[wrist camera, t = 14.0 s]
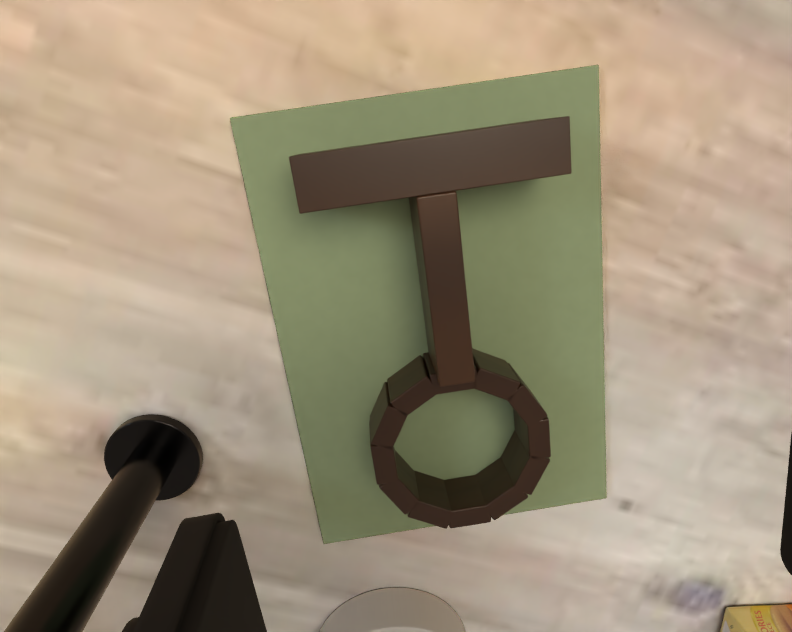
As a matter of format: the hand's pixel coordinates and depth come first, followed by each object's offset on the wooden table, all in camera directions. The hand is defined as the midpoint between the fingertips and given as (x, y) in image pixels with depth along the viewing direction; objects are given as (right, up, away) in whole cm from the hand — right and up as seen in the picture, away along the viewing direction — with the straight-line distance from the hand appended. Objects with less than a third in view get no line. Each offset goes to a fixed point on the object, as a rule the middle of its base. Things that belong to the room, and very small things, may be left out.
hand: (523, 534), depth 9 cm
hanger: (0, +3, +16) cm, 16 cm away
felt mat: (0, +3, +16) cm, 17 cm away
